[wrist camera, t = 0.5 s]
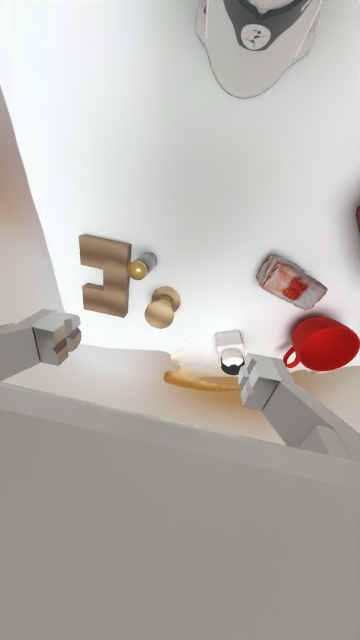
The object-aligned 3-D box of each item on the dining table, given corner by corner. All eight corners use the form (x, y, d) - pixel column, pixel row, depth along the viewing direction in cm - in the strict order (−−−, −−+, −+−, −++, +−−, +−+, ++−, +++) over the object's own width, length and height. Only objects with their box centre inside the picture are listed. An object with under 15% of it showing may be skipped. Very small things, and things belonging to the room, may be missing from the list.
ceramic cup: (262, 335, 57) (273, 357, 48) (318, 298, 50) (343, 316, 41) (288, 361, 60) (302, 386, 52) (344, 330, 53) (371, 352, 45)
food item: (249, 279, 50) (259, 293, 41) (268, 250, 46) (283, 258, 37) (294, 301, 51) (312, 318, 43) (316, 274, 47) (341, 287, 39)
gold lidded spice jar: (142, 251, 49) (127, 259, 40) (157, 254, 49) (146, 263, 40) (141, 266, 51) (126, 277, 42) (156, 269, 51) (144, 281, 42)
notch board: (85, 234, 49) (78, 235, 46) (131, 244, 49) (127, 246, 46) (89, 304, 59) (83, 308, 56) (127, 313, 59) (123, 317, 56)
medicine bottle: (241, 349, 60) (249, 377, 50) (218, 351, 62) (221, 379, 51) (239, 329, 57) (247, 355, 46) (215, 333, 58) (217, 358, 48)
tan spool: (154, 283, 53) (144, 297, 44) (182, 290, 53) (178, 304, 44) (151, 309, 57) (141, 326, 48) (177, 315, 57) (172, 333, 48)
